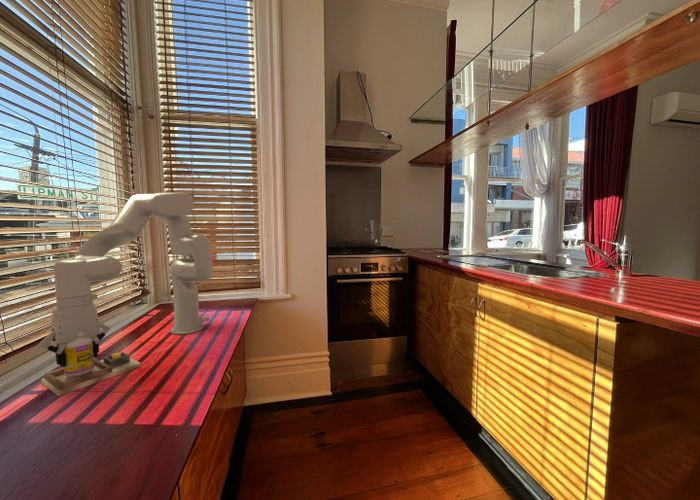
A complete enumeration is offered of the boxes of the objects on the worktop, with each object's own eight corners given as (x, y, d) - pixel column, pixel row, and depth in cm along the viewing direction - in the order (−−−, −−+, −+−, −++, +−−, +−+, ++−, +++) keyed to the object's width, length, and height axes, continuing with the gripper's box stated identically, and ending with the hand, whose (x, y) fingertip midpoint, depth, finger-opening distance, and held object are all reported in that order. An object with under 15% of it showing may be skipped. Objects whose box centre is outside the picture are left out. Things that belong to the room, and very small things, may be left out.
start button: (119, 359, 99) (118, 352, 99) (122, 361, 98) (122, 353, 98) (110, 362, 97) (110, 354, 97) (114, 364, 96) (113, 356, 95)
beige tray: (121, 357, 104) (121, 347, 104) (140, 366, 98) (140, 356, 97) (41, 383, 87) (40, 371, 87) (58, 396, 80) (57, 383, 80)
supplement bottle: (76, 379, 85) (73, 335, 84) (58, 376, 87) (54, 333, 86) (100, 368, 92) (97, 327, 91) (83, 365, 93) (79, 325, 92)
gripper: (104, 294, 97) (108, 347, 98) (28, 306, 82) (33, 369, 83) (115, 297, 93) (119, 352, 95) (37, 310, 78) (42, 376, 80)
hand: (78, 360), depth 89 cm, fingers closed on supplement bottle, 6 cm apart
